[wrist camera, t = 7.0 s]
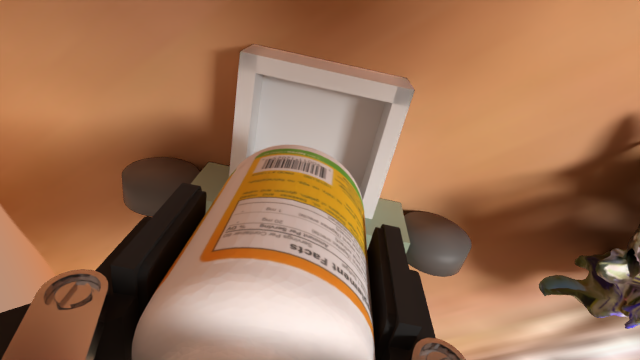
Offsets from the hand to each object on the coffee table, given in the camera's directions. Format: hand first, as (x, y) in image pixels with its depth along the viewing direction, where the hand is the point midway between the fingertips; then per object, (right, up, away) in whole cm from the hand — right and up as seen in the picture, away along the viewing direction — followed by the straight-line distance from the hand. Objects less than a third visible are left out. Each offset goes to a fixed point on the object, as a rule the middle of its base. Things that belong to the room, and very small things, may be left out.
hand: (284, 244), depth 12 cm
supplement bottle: (0, +1, +2) cm, 3 cm away
